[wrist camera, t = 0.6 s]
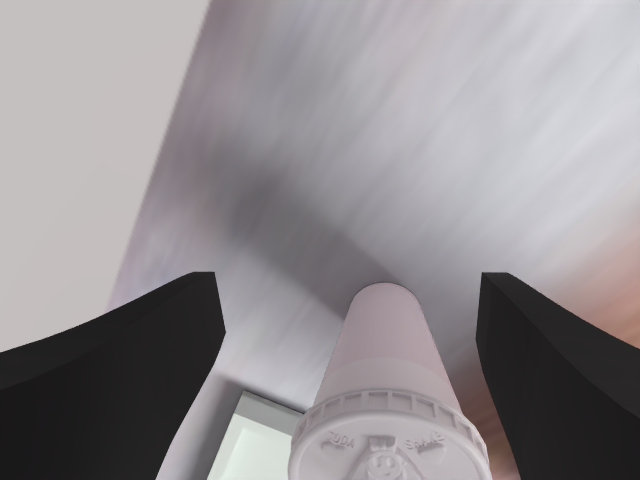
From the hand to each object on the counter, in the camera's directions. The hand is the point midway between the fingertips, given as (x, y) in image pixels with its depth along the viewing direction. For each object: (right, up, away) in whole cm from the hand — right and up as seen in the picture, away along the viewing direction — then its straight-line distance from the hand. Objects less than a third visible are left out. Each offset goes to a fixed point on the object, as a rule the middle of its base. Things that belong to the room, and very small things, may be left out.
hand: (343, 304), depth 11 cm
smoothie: (+3, -2, +10) cm, 11 cm away
